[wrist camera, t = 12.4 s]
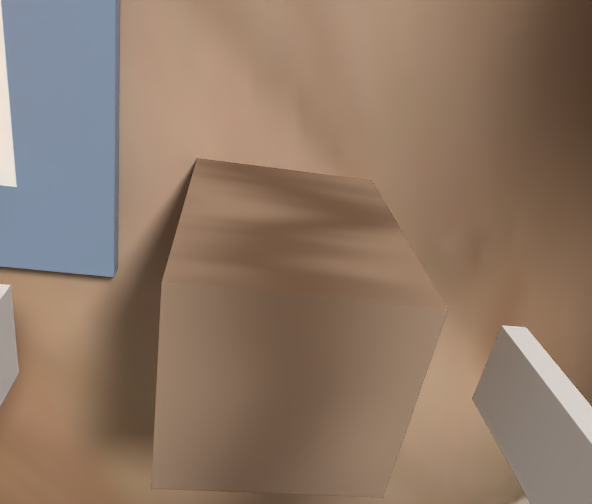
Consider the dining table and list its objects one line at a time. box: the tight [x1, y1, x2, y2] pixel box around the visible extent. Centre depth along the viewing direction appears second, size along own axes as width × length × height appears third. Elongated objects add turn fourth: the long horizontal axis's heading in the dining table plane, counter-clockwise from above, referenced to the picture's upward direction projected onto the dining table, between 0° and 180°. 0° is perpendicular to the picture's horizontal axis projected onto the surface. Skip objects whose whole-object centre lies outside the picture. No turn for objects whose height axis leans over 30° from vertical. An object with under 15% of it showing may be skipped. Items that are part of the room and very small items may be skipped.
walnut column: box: [151, 158, 448, 498], centre depth 16 cm, size 6×6×8 cm
